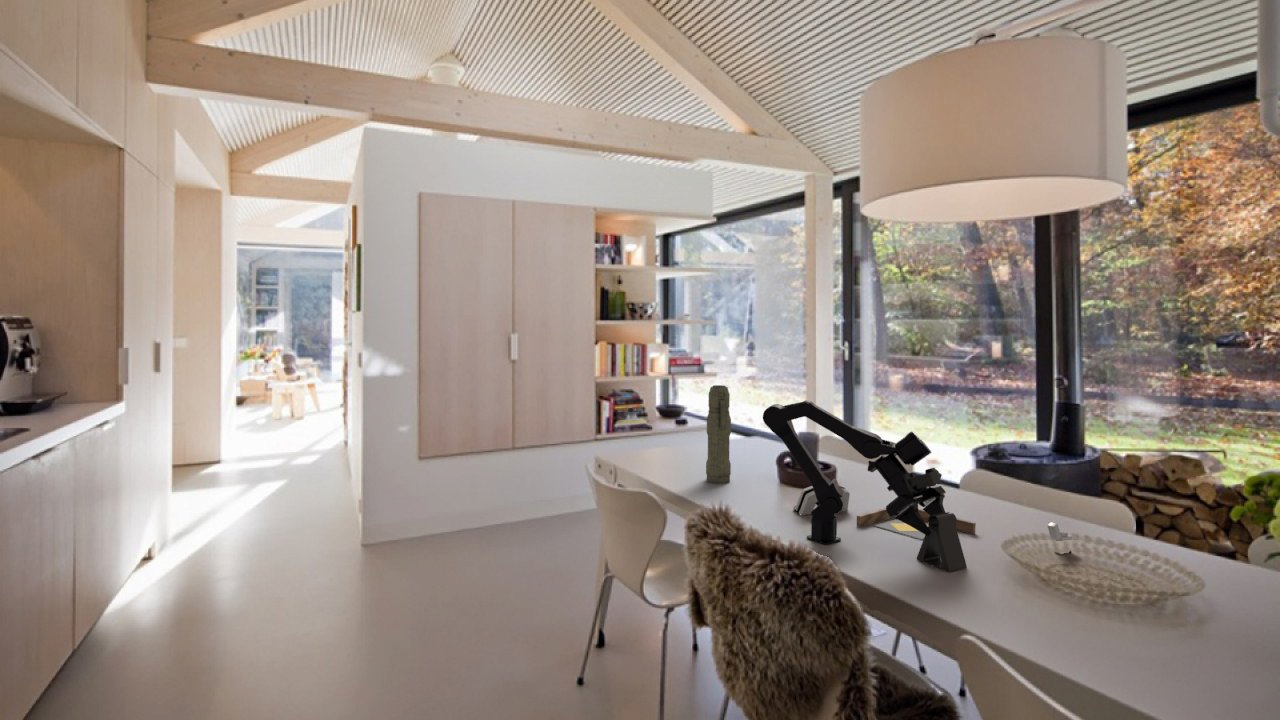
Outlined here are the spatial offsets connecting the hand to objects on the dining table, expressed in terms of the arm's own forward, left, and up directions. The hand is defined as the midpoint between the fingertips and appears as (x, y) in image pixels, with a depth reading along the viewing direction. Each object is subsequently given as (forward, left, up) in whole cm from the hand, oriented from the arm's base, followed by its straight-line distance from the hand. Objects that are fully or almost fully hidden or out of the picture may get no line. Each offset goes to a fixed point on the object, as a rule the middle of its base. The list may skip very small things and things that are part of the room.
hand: (939, 531), depth 148 cm
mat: (+19, +18, -8) cm, 27 cm away
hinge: (+11, +43, -8) cm, 45 cm away
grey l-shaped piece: (+31, -14, -8) cm, 35 cm away
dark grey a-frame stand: (0, -1, -8) cm, 8 cm away
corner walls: (+19, +17, -8) cm, 27 cm away
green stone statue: (+12, +90, -8) cm, 91 cm away
